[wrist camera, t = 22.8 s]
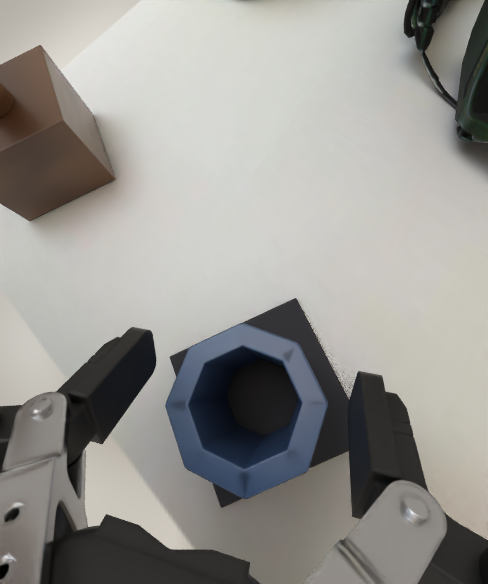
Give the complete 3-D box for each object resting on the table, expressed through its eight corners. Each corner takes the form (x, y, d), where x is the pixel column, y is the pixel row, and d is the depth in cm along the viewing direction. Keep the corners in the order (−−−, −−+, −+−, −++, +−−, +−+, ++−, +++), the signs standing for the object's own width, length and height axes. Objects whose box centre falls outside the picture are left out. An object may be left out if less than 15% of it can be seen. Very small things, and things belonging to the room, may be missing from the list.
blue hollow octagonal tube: (236, 467, 17) (201, 520, 11) (201, 370, 19) (151, 364, 12) (330, 424, 17) (352, 451, 10) (285, 331, 19) (279, 304, 12)
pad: (222, 505, 17) (220, 508, 17) (171, 357, 20) (169, 356, 20) (368, 439, 17) (370, 441, 17) (295, 299, 20) (296, 297, 19)
